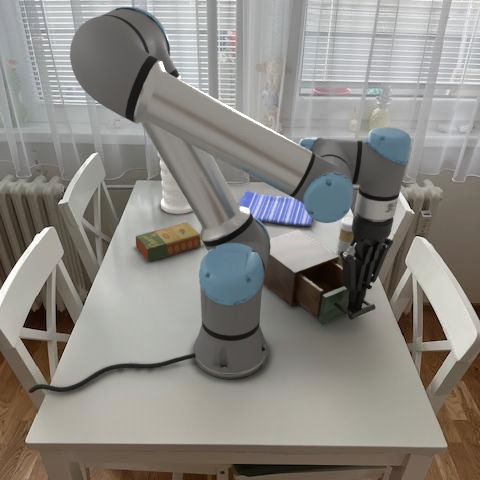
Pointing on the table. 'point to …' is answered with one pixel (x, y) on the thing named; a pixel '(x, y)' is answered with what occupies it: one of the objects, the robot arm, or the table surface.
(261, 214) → the dish towel
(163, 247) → the carton
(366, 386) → the table surface
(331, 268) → the drawer
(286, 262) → the cabinet
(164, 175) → the decorative container
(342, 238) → the sprinkles bottle
